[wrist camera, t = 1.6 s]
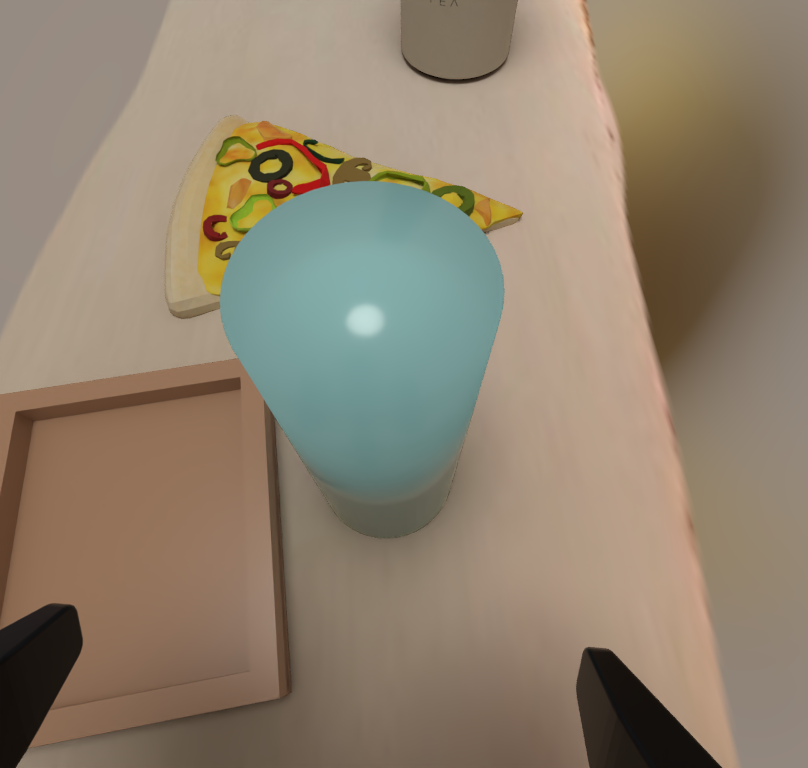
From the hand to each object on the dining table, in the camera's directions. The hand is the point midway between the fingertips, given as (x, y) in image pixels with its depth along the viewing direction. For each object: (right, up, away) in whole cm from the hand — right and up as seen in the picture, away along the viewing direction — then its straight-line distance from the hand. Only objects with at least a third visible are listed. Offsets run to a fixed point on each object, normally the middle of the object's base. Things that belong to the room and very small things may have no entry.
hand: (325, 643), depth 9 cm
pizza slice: (-2, +14, +22) cm, 26 cm away
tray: (-10, -2, +13) cm, 17 cm away
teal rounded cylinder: (+1, +1, +14) cm, 14 cm away
